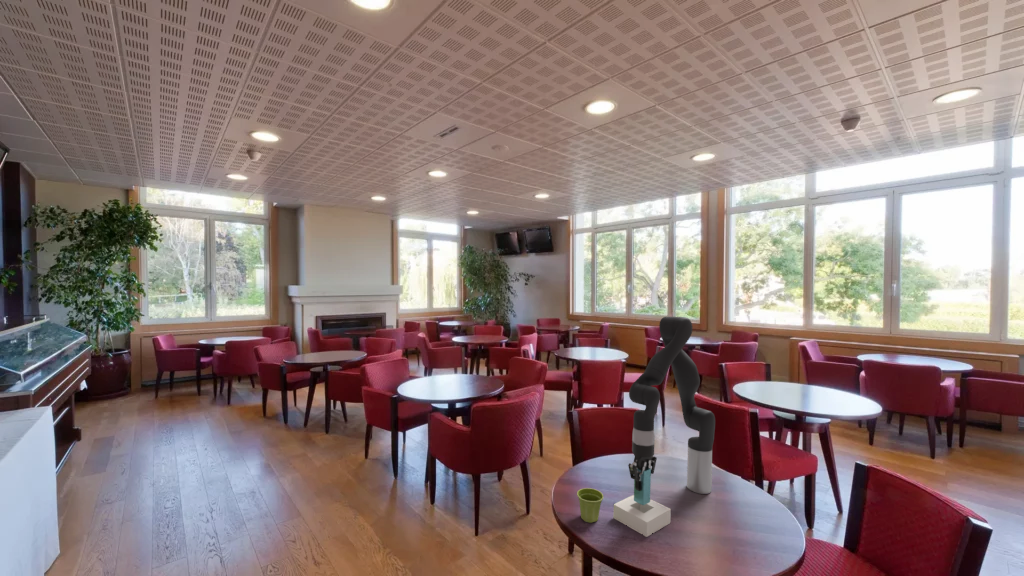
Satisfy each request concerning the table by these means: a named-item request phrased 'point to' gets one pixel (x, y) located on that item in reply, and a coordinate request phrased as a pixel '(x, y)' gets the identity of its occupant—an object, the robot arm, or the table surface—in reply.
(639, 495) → the bracket post
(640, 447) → the robot arm
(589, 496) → the plant pot
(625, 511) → the well block
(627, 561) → the table surface
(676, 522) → the table surface
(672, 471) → the table surface
